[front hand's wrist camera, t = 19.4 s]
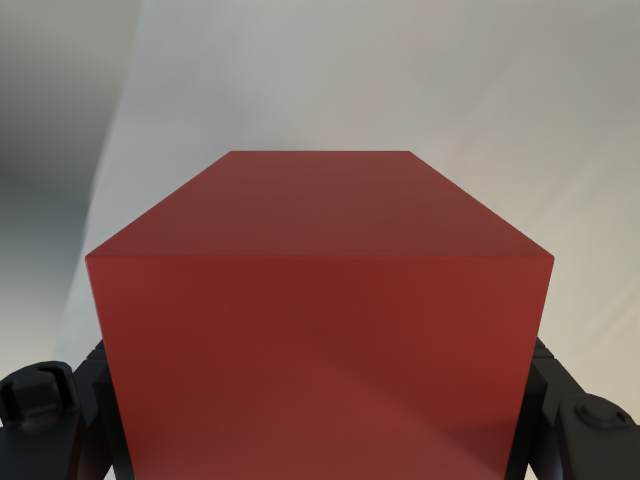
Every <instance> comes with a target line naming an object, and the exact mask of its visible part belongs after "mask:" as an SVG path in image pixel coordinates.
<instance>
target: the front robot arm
mask: <svg viewBox="0 0 640 480" xmlns="http://www.w3.org/2000/svg"><path fill="white" fill-rule="evenodd" d="M0 418H1V421H2V424H3V427H0V480H104V478H105V476H106V474H107V473H108V471H109V469H110V467H111V465H113V469H114V473H115V477H116V480H135V478H134V473H133V469H132V465H131V460H130V456H129V452H128V447H127V443H126V438H125V434H124V430H123V425H122V421H121V416H120V412H119V408H118V403H117V399H116V394H115V390H114V386H113V381H112V377H111V373H110V368H109V364H108V359H107V355H106V351H105V346H104V342H103V339H102V340H101V341H100V342H99V343H98V345H97V346H96V347H95V350H92V352H91V353H90V354H89V355H88V356H87V359H86V360H84V361H83V362H82V363H81V364H80V366H79V367H78V368H77V369H76V370H75V371H74V373H72V369H71V367H70V366H69V365H68V364H66V363H65V362H59V361H47V362H40V363H36V364H33V365H29V366H26V367H24V368H22V369H19V370H17V371H15V372H13V373H11V374H9V375H8V376H7V377H5V378H4V379H2V380H1V381H0ZM528 463H529V465H530V466H531V468H532V470H533V472H534V474H535V475H536V477H537V479H538V480H640V425H636V423H635V422H634V421H633V419H632V418H631V416H630V415H629V414H628V413H626V412H625V411H624V410H623V409H622V408H620V407H619V406H618V405H616V404H614V403H612V402H610V401H608V400H606V399H605V398H602V397H599V396H596V395H593V394H588V393H586V392H585V391H584V390H583V389H582V388H581V387H580V385H579V384H578V383H577V382H576V381H575V380H574V378H573V377H572V376H571V375H570V374H569V373H568V372H567V370H566V369H565V368H564V367H563V366H562V365H561V363H560V362H559V361H558V360H557V359H554V355H553V354H552V353H551V352H550V351H549V350H548V348H545V345H544V344H543V343H542V341H541V340H540V339H539V338H538V337H537V339H536V343H535V347H534V352H533V356H532V361H531V365H530V369H529V374H528V378H527V383H526V387H525V391H524V396H523V400H522V405H521V409H520V413H519V418H518V422H517V427H516V431H515V435H514V440H513V444H512V449H511V453H510V457H509V462H508V466H507V471H506V475H505V480H524V478H525V474H526V470H527V467H528Z"/></svg>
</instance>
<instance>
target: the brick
mask: <svg viewBox="0 0 640 480" xmlns="http://www.w3.org/2000/svg"><path fill="white" fill-rule="evenodd" d="M85 263H86V267H87V272H88V276H89V280H90V285H91V289H92V294H93V298H94V302H95V307H96V311H97V315H98V320H99V324H100V329H101V333H102V337H103V342H104V346H105V351H106V355H107V359H108V364H109V368H110V373H111V377H112V381H113V386H114V390H115V394H116V399H117V403H118V408H119V412H120V416H121V421H122V425H123V430H124V434H125V438H126V443H127V447H128V452H129V456H130V460H131V465H132V469H133V473H134V478H135V480H505V475H506V471H507V466H508V462H509V457H510V453H511V449H512V444H513V440H514V435H515V431H516V427H517V422H518V418H519V413H520V409H521V405H522V400H523V396H524V391H525V387H526V383H527V378H528V374H529V369H530V365H531V361H532V356H533V352H534V347H535V343H536V339H537V334H538V330H539V325H540V321H541V317H542V312H543V308H544V303H545V299H546V294H547V290H548V286H549V281H550V277H551V272H552V268H553V264H554V256H553V255H552V254H550V253H549V252H547V251H546V250H545V249H543V248H542V247H541V246H539V245H538V244H536V243H535V242H534V241H532V240H531V239H530V238H528V237H527V236H525V235H524V234H523V233H521V232H520V231H519V230H517V229H516V228H514V227H513V226H512V225H510V224H509V223H508V222H506V221H505V220H503V219H502V218H501V217H499V216H498V215H497V214H495V213H494V212H492V211H491V210H490V209H488V208H487V207H486V206H484V205H483V204H481V203H480V202H479V201H477V200H476V199H475V198H473V197H472V196H470V195H469V194H468V193H466V192H465V191H464V190H462V189H461V188H459V187H458V186H457V185H455V184H454V183H453V182H451V181H450V180H448V179H447V178H446V177H444V176H443V175H442V174H440V173H439V172H437V171H436V170H435V169H433V168H432V167H431V166H429V165H428V164H426V163H425V162H424V161H422V160H421V159H420V158H418V157H417V156H415V155H414V154H413V153H411V152H410V151H230V152H229V153H227V154H226V155H224V156H223V157H222V158H220V159H219V160H218V161H216V162H215V163H213V164H212V165H211V166H209V167H208V168H206V169H205V170H204V171H202V172H201V173H200V174H198V175H197V176H195V177H194V178H193V179H191V180H190V181H188V182H187V183H186V184H184V185H183V186H182V187H180V188H179V189H177V190H176V191H175V192H173V193H172V194H170V195H169V196H168V197H166V198H165V199H164V200H162V201H161V202H159V203H158V204H157V205H155V206H154V207H152V208H151V209H150V210H148V211H147V212H146V213H144V214H143V215H141V216H140V217H139V218H137V219H136V220H135V221H133V222H132V223H130V224H129V225H128V226H126V227H125V228H123V229H122V230H121V231H119V232H118V233H117V234H115V235H114V236H112V237H111V238H110V239H108V240H107V241H105V242H104V243H103V244H101V245H100V246H99V247H97V248H96V249H94V250H93V251H92V252H90V253H89V254H87V255H86V256H85Z"/></svg>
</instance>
